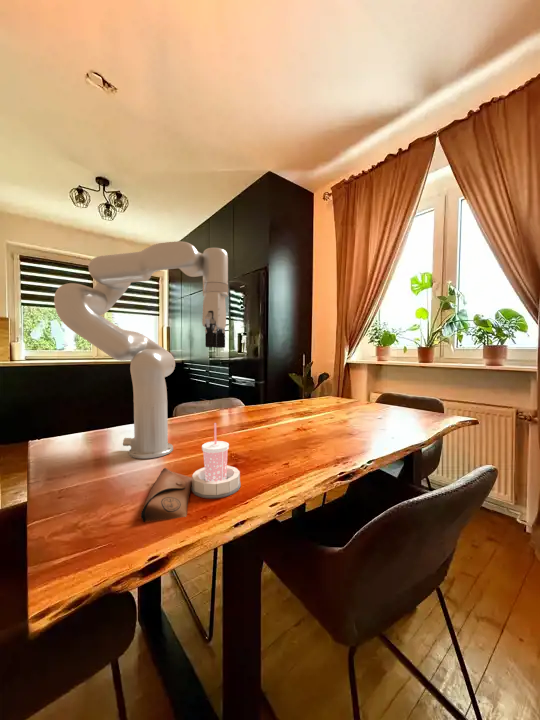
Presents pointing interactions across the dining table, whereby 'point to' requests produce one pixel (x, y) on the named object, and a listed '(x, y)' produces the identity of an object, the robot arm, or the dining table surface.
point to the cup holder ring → (216, 484)
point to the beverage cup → (215, 459)
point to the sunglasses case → (167, 497)
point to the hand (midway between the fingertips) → (215, 347)
